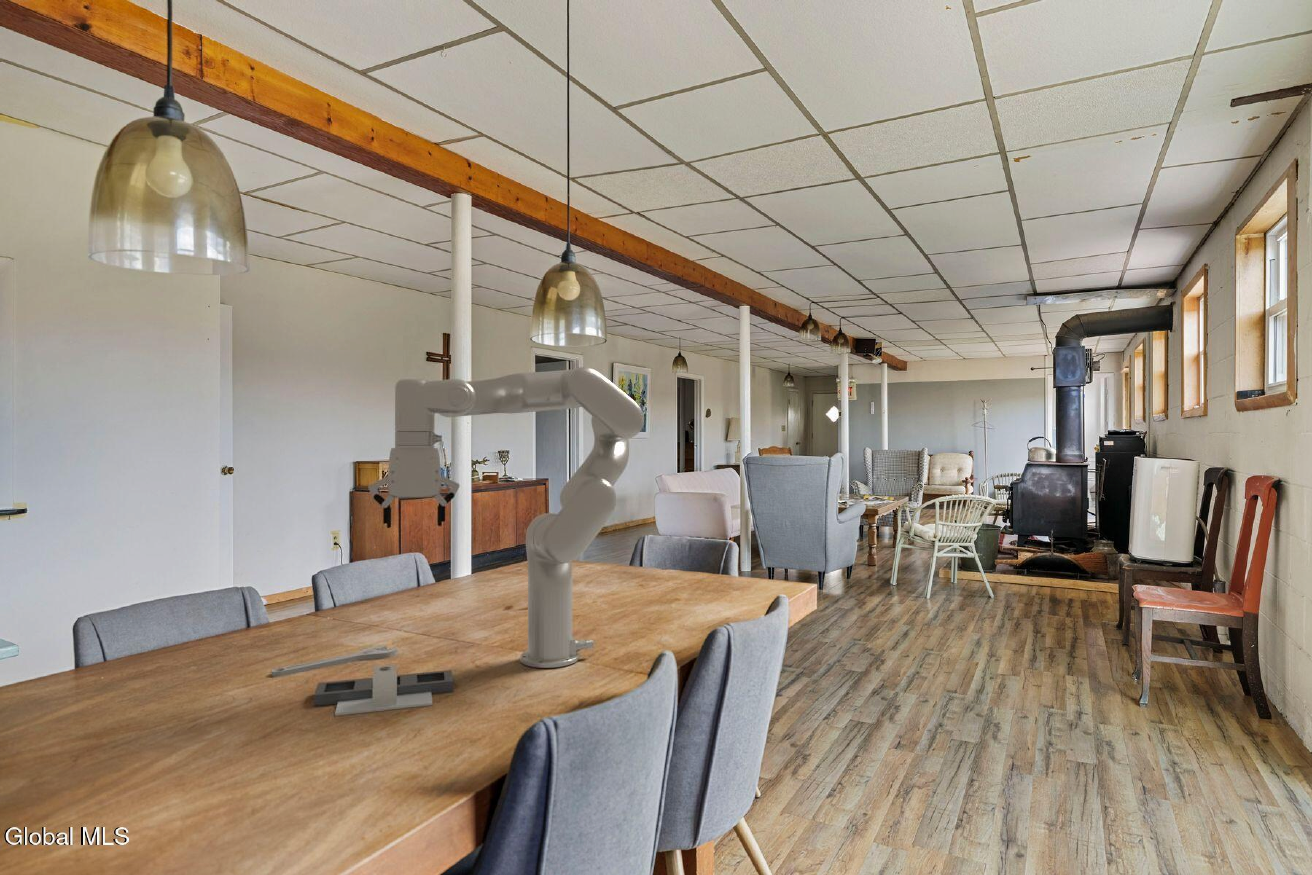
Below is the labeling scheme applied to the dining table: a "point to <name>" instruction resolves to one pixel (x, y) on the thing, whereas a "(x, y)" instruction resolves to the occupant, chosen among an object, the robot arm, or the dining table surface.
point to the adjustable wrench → (337, 661)
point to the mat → (366, 706)
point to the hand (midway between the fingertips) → (414, 526)
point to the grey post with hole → (384, 685)
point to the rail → (364, 687)
